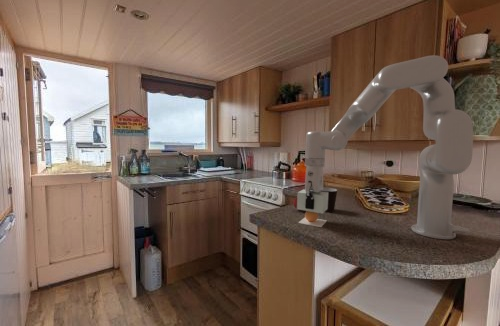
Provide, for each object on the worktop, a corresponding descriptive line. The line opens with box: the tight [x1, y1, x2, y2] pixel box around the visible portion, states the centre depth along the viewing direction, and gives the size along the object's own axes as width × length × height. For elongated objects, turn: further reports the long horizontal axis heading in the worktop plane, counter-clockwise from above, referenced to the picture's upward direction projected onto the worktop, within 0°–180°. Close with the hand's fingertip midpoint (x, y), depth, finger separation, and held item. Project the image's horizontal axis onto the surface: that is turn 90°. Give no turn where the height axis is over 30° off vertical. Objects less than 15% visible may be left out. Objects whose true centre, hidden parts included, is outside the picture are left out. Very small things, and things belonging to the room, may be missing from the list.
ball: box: [304, 211, 319, 222], centre depth 98 cm, size 5×5×5 cm
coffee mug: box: [321, 187, 338, 213], centre depth 116 cm, size 12×9×10 cm
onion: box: [292, 196, 302, 211], centre depth 113 cm, size 6×6×8 cm
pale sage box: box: [296, 188, 328, 214], centre depth 97 cm, size 10×8×7 cm
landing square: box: [297, 216, 328, 228], centre depth 97 cm, size 9×9×1 cm
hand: (312, 206), depth 97 cm, fingers closed on pale sage box, 7 cm apart
